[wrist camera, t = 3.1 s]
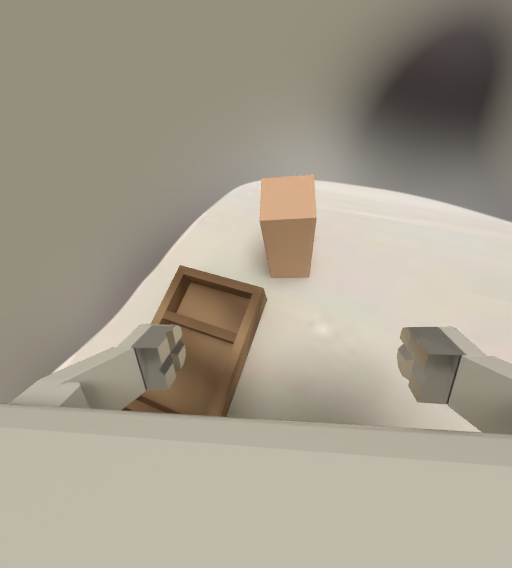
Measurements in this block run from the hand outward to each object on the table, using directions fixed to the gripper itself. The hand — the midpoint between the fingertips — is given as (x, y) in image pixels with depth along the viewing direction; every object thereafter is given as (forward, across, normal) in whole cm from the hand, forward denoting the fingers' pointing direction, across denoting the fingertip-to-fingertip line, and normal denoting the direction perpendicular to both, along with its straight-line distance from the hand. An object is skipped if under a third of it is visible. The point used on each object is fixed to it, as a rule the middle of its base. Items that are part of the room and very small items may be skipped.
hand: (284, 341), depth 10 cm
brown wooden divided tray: (+11, -9, -11) cm, 18 cm away
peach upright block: (+19, 0, -3) cm, 19 cm away
